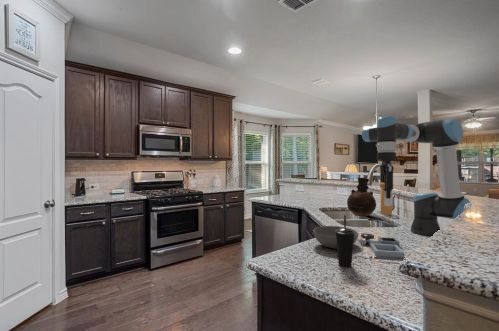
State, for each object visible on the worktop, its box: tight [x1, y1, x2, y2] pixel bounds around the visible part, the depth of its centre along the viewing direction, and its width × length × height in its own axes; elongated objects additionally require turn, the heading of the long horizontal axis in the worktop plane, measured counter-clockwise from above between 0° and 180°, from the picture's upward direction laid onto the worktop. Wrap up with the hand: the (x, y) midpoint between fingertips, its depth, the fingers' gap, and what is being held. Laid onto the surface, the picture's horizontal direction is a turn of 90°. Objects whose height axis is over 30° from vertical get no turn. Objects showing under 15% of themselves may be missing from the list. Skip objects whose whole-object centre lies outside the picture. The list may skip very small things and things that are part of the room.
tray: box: [369, 243, 405, 262], centre depth 123 cm, size 11×11×4 cm
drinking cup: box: [335, 215, 356, 268], centre depth 112 cm, size 8×8×20 cm
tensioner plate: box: [357, 232, 404, 250], centre depth 136 cm, size 18×12×6 cm, turn 77°
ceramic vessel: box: [346, 177, 377, 217], centre depth 218 cm, size 21×18×30 cm
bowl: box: [312, 225, 359, 250], centre depth 137 cm, size 21×21×8 cm
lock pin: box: [378, 182, 393, 216], centre depth 123 cm, size 6×6×14 cm
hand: (386, 204), depth 123 cm, fingers closed on lock pin, 4 cm apart
